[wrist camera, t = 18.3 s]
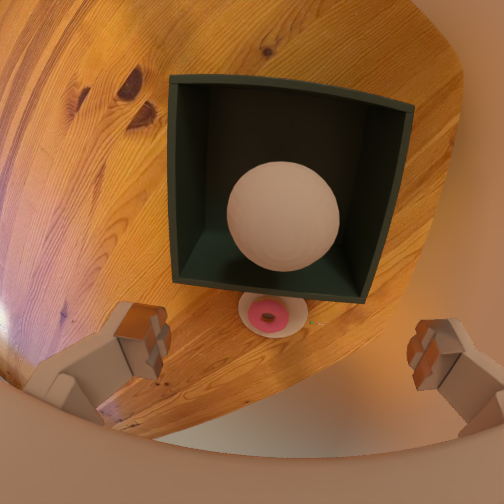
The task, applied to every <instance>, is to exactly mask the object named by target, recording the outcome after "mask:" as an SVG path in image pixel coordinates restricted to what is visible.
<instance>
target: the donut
mask: <svg viewBox="0 0 504 504" xmlns="http://www.w3.org/2000/svg"><path fill="white" fill-rule="evenodd" d="M238 312H239V316H240V318H241V320H242V322H243V323H244V324H245V325H246V326H247V327H248V328H249V329H250V330H251V331H253V332H254V333H257V334H259V335H261V336H265V337H269V338H282V337H287V336H290V335H293V334H294V333H296V332H298V331H299V330H300V329H301V328H302V327H303V326H304V324H305V323H306V320H307V317H308V307H307V304H306V302H305V300H304V299H302V298H293V297H283V296H274V295H265V294H257V293H248V292H244V294H243V295H242V296H241V298H240V300H239V304H238ZM310 323H311V324H313V322H312V321H311V322H310ZM316 324H317V323H316ZM319 325H320V323H319ZM321 325H322V323H321ZM325 325H326V324H325Z"/></svg>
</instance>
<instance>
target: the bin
mask: <svg viewBox="0 0 504 504" xmlns="http://www.w3.org/2000/svg"><path fill="white" fill-rule="evenodd" d="M414 109H415V106H414V105H411V104H408V103H405V102H401V101H398V100H394V99H390V98H387V97H383V96H379V95H375V94H371V93H366V92H362V91H357V90H353V89H348V88H343V87H338V86H332V85H327V84H321V83H314V82H307V81H300V80H292V79H284V78H274V77H263V76H249V75H226V74H184V75H170V78H169V97H168V128H167V186H168V217H169V238H170V254H171V268H172V280H173V283H180V284H187V285H194V286H201V287H209V288H216V289H224V290H232V291H240V292H248V293H257V294H265V295H274V296H283V297H293V298H302V299H312V300H323V301H334V302H345V303H357V304H365V301H366V298H367V296H368V293H369V290H370V287H371V285H372V282H373V279H374V276H375V273H376V270H377V267H378V264H379V261H380V258H381V254H382V251H383V248H384V245H385V241H386V238H387V234H388V231H389V227H390V224H391V220H392V216H393V213H394V209H395V205H396V201H397V197H398V193H399V189H400V185H401V180H402V176H403V171H404V166H405V162H406V157H407V152H408V146H409V141H410V135H411V129H412V123H413V117H414V115H413V114H414ZM269 162H291V163H296V164H300V165H303V166H305V167H307V168H309V169H311V170H313V171H314V172H315V173H317V174H318V175H319V176H320V177H321V178H322V179H323V180H324V181H325V182H326V183H327V185H328V186H329V187H330V188H331V190H332V192H333V194H334V196H335V198H336V202H337V206H338V210H339V229H338V234H337V236H336V238H335V241H334V243H333V244H332V246H331V247H330V249H329V250H328V251H327V252H326V253H325V254H324V255H323V256H322V257H321V258H319V259H318V260H316V261H315V262H313V263H312V264H310V265H309V266H306V267H304V268H302V269H298V270H294V271H285V272H282V271H273V270H269V269H266V268H263V267H261V266H259V265H257V264H255V263H254V262H253V261H251V260H250V259H248V258H247V257H246V256H245V255H244V254H243V253H242V252H241V251H240V249H239V248H238V246H237V245H236V243H235V241H234V239H233V237H232V235H231V232H230V230H229V226H228V222H227V206H228V202H229V197H230V194H231V192H232V190H233V188H234V186H235V184H236V183H237V182H238V180H239V179H240V178H241V177H242V176H243V175H244V174H246V173H247V172H248V171H249V170H251V169H253V168H255V167H257V166H259V165H262V164H266V163H269Z"/></svg>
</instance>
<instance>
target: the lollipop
mask: <svg viewBox="0 0 504 504" xmlns="http://www.w3.org/2000/svg"><path fill="white" fill-rule="evenodd" d="M227 222H228V226H229V230H230V232H231V235H232V237H233V239H234V241H235V243H236V245H237V246H238V248H239V249H240V251H241V252H242V253H243V254H244V255H245V256H246V257H247V258H248V259H250V260H251V261H253V262H254V263H255V264H257V265H259V266H261V267H263V268H266V269H269V270H273V271H282V272H285V271H294V270H298V269H302V268H304V267H306V266H309V265H310V264H312V263H313V262H315V261H316V260H318V259H319V258H321V257H322V256H323V255H324V254H325V253H326V252H327V251H328V250H329V249H330V247H331V246H332V244H333V243H334V241H335V238H336V236H337V234H338V229H339V210H338V206H337V202H336V198H335V196H334V194H333V192H332V190H331V188H330V187H329V186H328V185H327V183H326V182H325V181H324V180H323V179H322V178H321V177H320V176H319V175H318V174H317V173H315V172H314V171H313V170H311V169H309V168H307V167H305V166H303V165H300V164H296V163H291V162H269V163H266V164H262V165H259V166H257V167H255V168H253V169H251V170H249V171H248V172H247V173H246V174H244V175H243V176H242V177H241V178H240V179H239V180H238V182H237V183H236V184H235V186H234V188H233V190H232V192H231V194H230V197H229V202H228V206H227Z"/></svg>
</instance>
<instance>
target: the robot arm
mask: <svg viewBox="0 0 504 504" xmlns="http://www.w3.org/2000/svg"><path fill="white" fill-rule="evenodd" d="M166 319H167V313H166V309H165V308H164V307H160V306H154V305H147V304H141V303H133V302H127V301H121V302H119V303H118V304H117V306H116V307H115V309H114V310H113V312H112V313H111V315H110V316H109V318H108V319H107V321H106V322H105V324H104V325H103V327H102V329H101V330H100V332H99V333H93V334H91V335H89V336H88V337H86V338H84V339H82V340H80V341H78V342H77V343H75V344H73V345H71V346H69V347H68V348H66V349H64V350H62V351H60V352H59V353H57V354H55V355H53V356H51V357H50V358H48V359H46V360H44V361H42V362H41V363H39V365H38V366H37V368H36V369H35V371H34V372H33V374H32V376H31V377H30V379H29V380H28V382H27V383H26V385H25V387H24V388H23V390H22V391H20V390H18V389H16V388H15V387H13V386H11V385H9V384H7V383H5V382H4V381H2V380H0V504H504V368H503V367H501V366H500V365H499V364H497V363H496V362H495V361H493V360H492V359H491V358H489V357H488V356H487V355H486V354H484V353H483V352H481V351H480V350H478V351H477V350H476V348H475V347H474V344H473V343H472V341H471V339H470V337H469V335H468V334H467V332H466V330H465V328H464V327H463V325H462V323H461V322H460V320H459V319H457V318H450V319H434V320H421V321H420V322H419V323H418V324H417V326H416V328H415V330H416V333H417V334H416V335H415V336H413V337H412V338H411V340H410V341H409V344H408V346H407V361H408V364H409V366H410V367H411V368H413V369H414V373H413V375H412V376H413V379H414V383H415V386H416V389H417V391H422V390H432V389H438V391H439V392H440V394H441V395H442V396H443V397H444V398H445V399H446V400H447V401H448V402H449V404H450V405H451V406H452V407H453V408H454V409H455V410H456V411H457V412H458V414H459V415H460V416H461V417H462V418H463V419H464V420H465V422H466V423H467V425H466V426H465V427H464V428H463V429H462V430H461V431H460V433H459V434H458V437H459V438H457V439H453V440H449V441H445V442H441V443H437V444H432V445H428V446H423V447H419V448H412V449H407V450H401V451H395V452H388V453H381V454H372V455H362V456H351V457H336V458H335V457H334V458H274V457H257V456H246V455H236V454H227V453H219V452H212V451H205V450H199V449H193V448H188V447H182V446H177V445H173V444H168V443H163V442H159V441H155V440H151V439H147V438H143V437H139V436H135V435H132V434H128V433H125V432H122V431H118V430H115V429H112V428H109V427H106V426H103V425H104V421H103V419H102V417H101V416H100V415H99V413H98V412H97V411H96V408H97V407H98V406H99V405H100V404H102V403H103V402H104V401H105V400H107V399H108V398H109V397H110V396H111V395H113V394H114V393H115V392H116V391H118V390H119V389H120V388H121V387H122V386H124V385H125V384H126V383H127V382H128V381H130V380H131V379H132V378H133V376H135V377H140V378H146V379H151V380H158V377H159V375H160V372H161V370H162V367H163V362H162V359H161V358H163V357H164V356H166V355H167V354H168V351H169V349H170V344H171V331H170V327H169V326H168V325H167V324H166V323H165V321H166Z"/></svg>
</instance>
